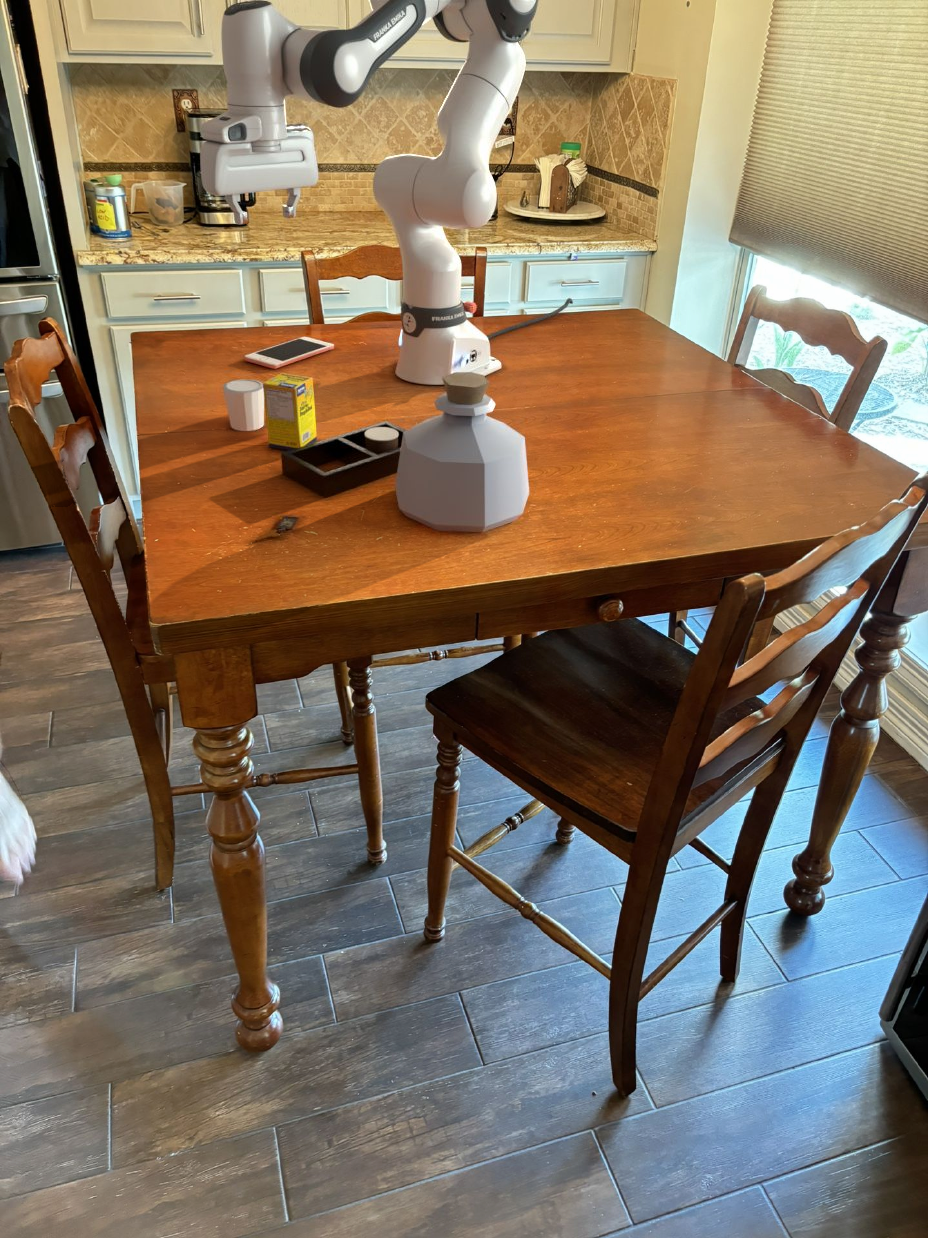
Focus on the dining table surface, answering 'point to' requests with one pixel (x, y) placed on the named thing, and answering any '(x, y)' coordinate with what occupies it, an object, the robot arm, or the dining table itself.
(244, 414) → the shot glass
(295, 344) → the cell phone
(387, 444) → the cylinder
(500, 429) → the bottle
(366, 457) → the tray
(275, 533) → the key tag
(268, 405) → the supplement box
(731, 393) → the dining table surface
